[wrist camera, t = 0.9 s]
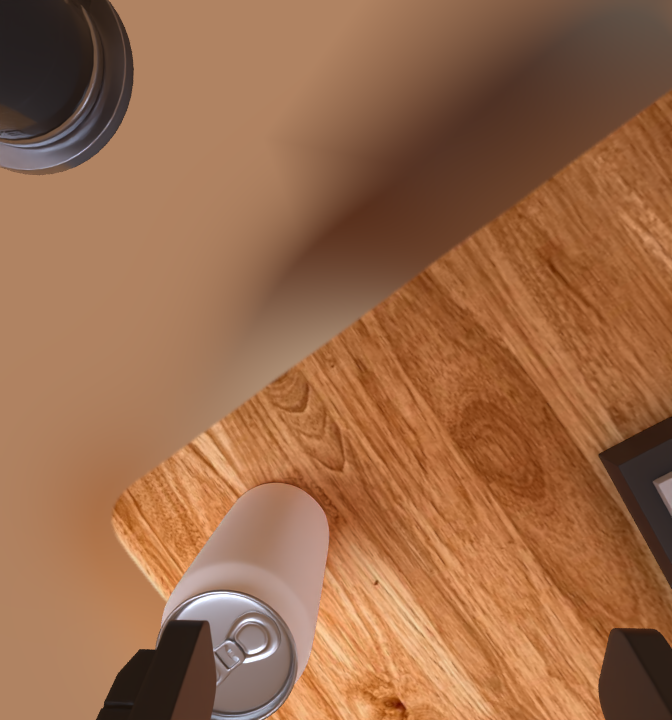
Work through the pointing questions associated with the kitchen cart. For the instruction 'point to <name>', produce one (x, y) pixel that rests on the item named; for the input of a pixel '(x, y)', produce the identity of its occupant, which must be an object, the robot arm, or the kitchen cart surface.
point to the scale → (647, 486)
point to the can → (257, 597)
